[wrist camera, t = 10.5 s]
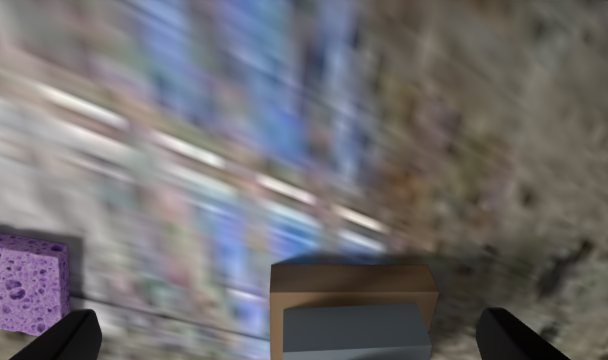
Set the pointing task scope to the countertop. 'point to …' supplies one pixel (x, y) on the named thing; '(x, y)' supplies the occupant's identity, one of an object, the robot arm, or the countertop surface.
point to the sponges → (32, 284)
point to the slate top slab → (356, 333)
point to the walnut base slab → (346, 291)
